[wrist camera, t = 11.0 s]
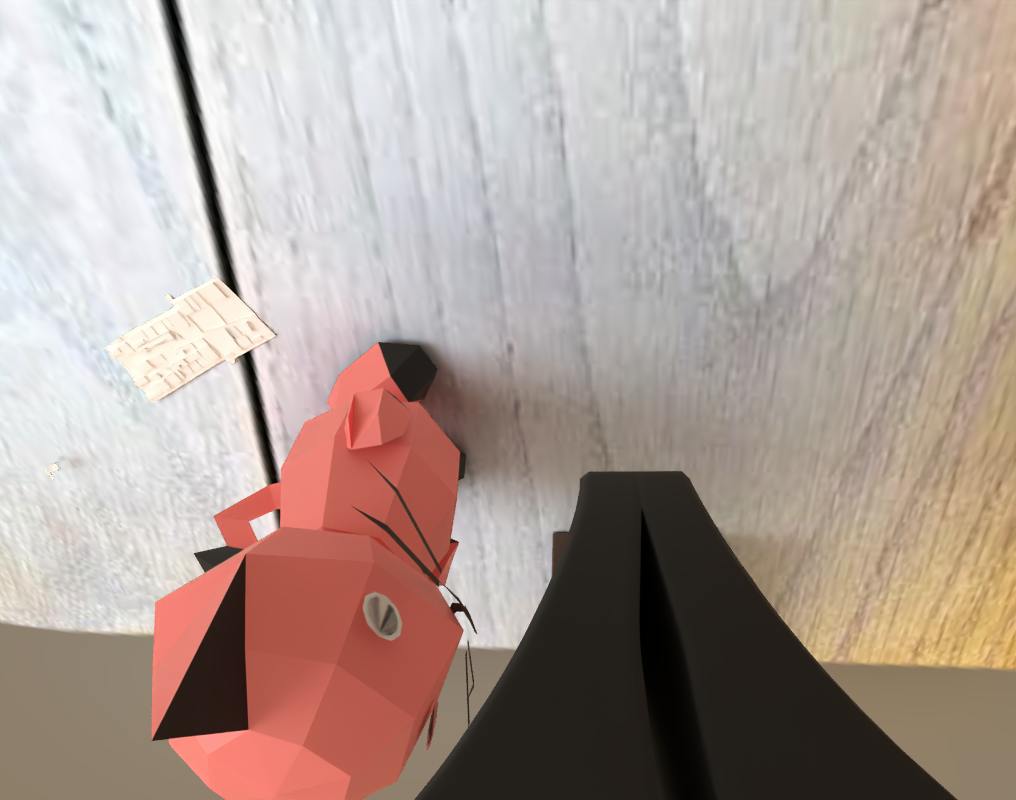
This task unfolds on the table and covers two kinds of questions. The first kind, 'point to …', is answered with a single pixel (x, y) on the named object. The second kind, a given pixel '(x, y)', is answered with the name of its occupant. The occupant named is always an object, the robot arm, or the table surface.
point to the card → (188, 340)
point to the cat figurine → (322, 604)
